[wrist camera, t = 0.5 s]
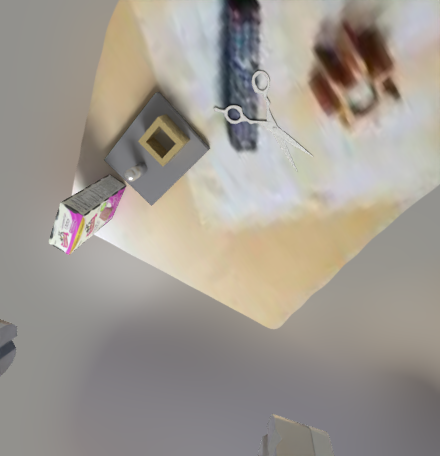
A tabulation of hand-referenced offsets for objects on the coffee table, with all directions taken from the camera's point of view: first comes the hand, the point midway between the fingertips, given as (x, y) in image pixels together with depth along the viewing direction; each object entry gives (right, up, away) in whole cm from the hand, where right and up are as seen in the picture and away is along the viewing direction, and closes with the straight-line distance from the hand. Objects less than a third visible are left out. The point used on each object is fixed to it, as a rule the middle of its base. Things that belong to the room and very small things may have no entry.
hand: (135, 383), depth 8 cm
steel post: (-14, +18, +49) cm, 54 cm away
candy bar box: (-24, +12, +56) cm, 62 cm away
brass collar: (-8, +22, +45) cm, 51 cm away
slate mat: (-11, +20, +48) cm, 54 cm away
